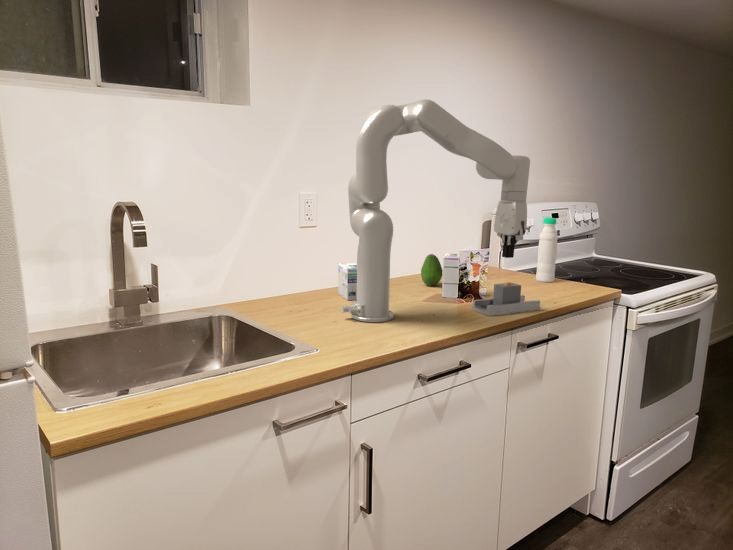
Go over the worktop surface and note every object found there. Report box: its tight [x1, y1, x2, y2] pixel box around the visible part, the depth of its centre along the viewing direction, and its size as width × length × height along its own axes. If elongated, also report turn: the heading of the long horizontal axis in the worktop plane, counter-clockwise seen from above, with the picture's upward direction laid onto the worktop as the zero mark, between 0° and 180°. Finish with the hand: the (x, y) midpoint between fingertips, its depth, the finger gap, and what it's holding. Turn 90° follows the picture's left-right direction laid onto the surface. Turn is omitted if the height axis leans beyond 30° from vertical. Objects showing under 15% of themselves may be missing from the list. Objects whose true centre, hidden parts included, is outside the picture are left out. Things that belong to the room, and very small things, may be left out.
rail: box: [471, 294, 542, 317], centre depth 175 cm, size 20×9×3 cm, turn 116°
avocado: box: [420, 253, 443, 287], centre depth 208 cm, size 8×8×12 cm
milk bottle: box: [535, 217, 559, 283], centre depth 219 cm, size 7×7×25 cm
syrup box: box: [441, 253, 461, 299], centre depth 191 cm, size 6×6×14 cm
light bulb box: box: [337, 262, 357, 301], centre depth 188 cm, size 11×7×11 cm, turn 20°
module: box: [492, 281, 522, 305], centre depth 175 cm, size 7×4×8 cm, turn 116°
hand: (507, 257), depth 172 cm, fingers closed
